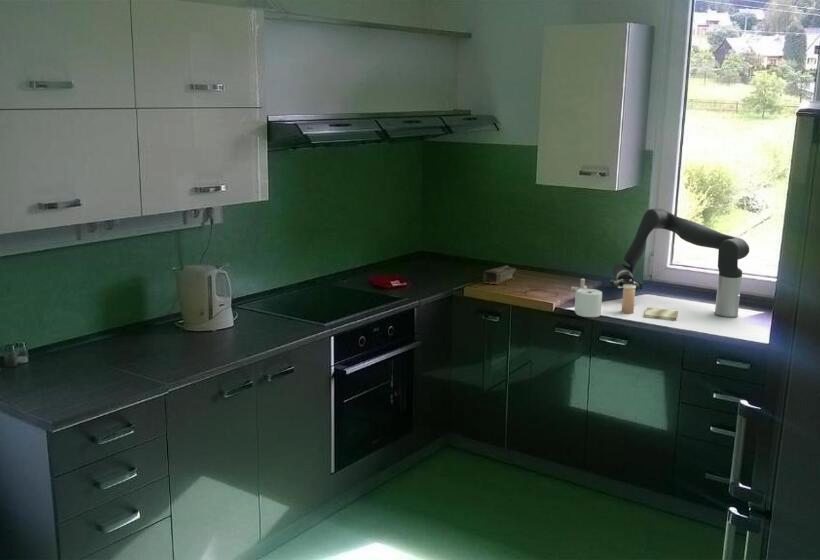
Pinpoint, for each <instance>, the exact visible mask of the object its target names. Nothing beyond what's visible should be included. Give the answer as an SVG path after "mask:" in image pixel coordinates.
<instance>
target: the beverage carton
mask: <svg viewBox="0 0 820 560" xmlns="http://www.w3.org/2000/svg"><path fill="white" fill-rule="evenodd" d="M515 276H516V277H517V268H516V267H511V266H508V265H503V266H499V267H495V268H491V269H487V270H483V277H482V278H483V279H482V282H483V281H486V282H495V283H496V282H499V281H503V280H506V279H509V278H512V277H515ZM516 277H515V278H516Z"/></svg>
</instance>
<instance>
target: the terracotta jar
mask: <svg viewBox="0 0 820 560" xmlns="http://www.w3.org/2000/svg"><path fill="white" fill-rule="evenodd" d="M635 289H636V285H633V284H624V285H623V289H622V303H621V313H622V314H626V315H632V314H634V311H635V298H636V290H635Z"/></svg>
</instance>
